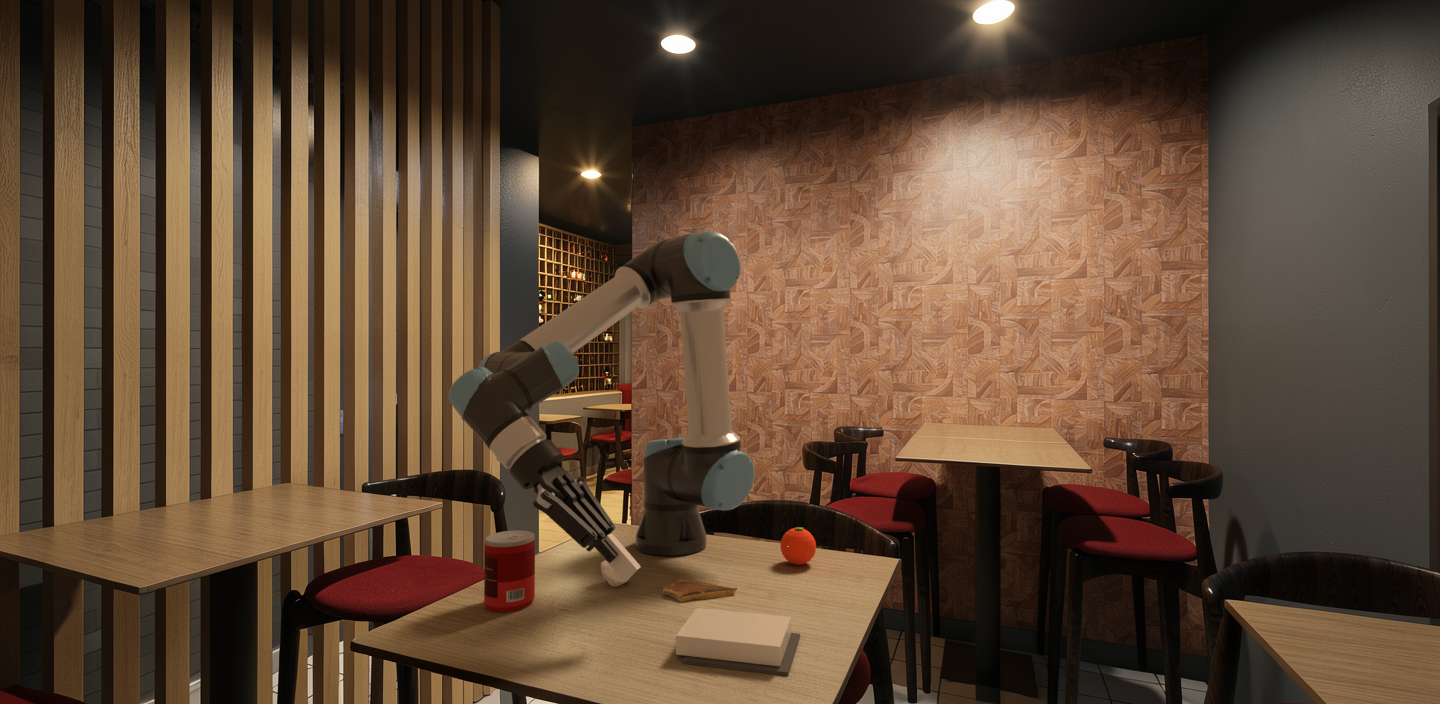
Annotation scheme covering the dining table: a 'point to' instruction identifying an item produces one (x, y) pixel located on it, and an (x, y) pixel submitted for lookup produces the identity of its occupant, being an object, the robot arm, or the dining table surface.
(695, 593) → the shard
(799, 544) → the clementine
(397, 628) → the dining table surface
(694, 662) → the rubber mat
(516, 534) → the canned food
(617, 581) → the dumpling
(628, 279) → the robot arm
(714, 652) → the glazed tile
